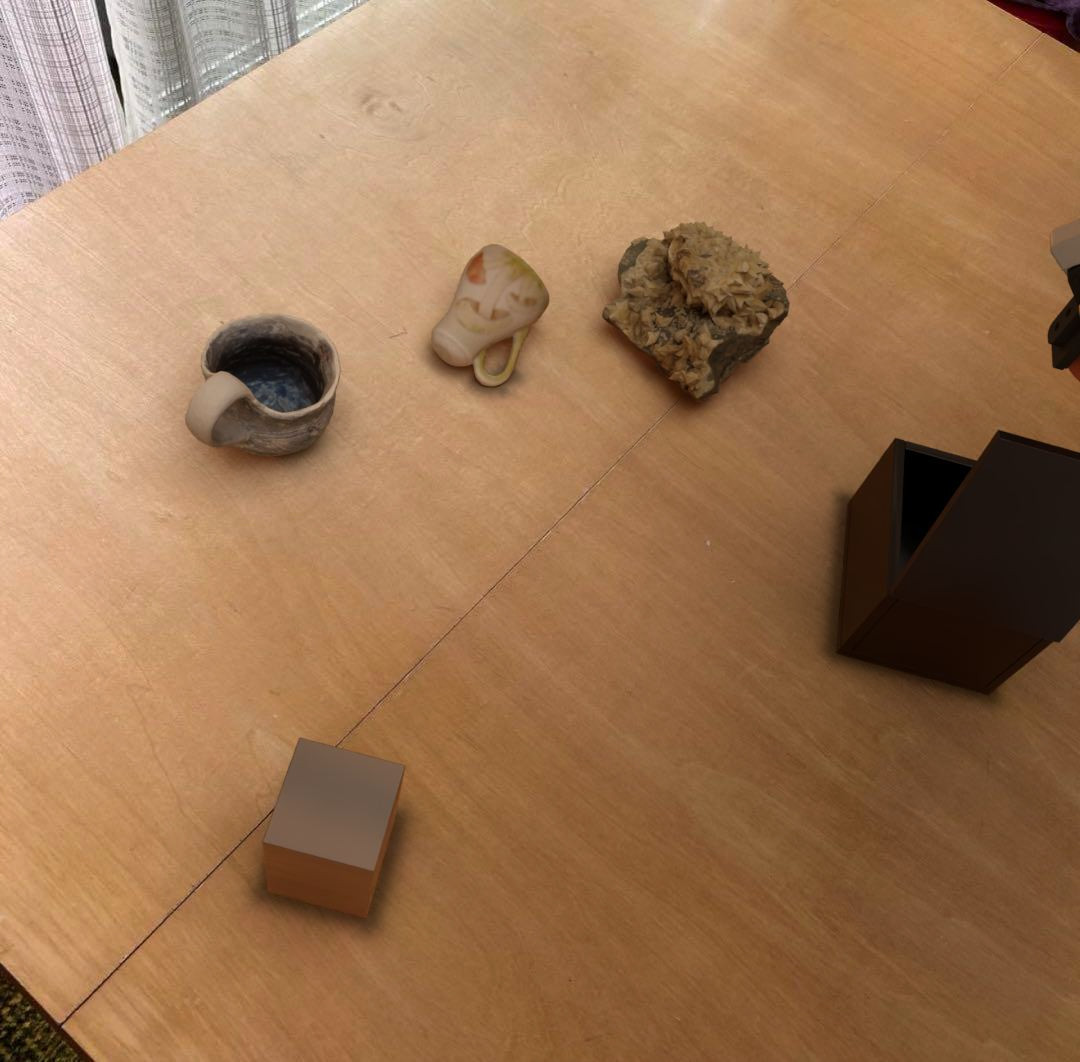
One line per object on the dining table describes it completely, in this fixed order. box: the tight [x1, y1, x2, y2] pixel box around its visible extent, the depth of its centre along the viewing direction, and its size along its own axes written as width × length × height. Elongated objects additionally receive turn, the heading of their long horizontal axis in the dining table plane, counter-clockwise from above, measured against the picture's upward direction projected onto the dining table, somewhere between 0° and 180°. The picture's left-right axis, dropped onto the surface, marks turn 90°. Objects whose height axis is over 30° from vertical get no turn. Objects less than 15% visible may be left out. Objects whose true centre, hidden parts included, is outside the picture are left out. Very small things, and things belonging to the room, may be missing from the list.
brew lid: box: [890, 429, 1080, 644], centre depth 71 cm, size 14×12×1 cm
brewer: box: [836, 437, 1054, 695], centre depth 84 cm, size 14×12×9 cm
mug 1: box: [184, 312, 342, 458], centre depth 81 cm, size 10×12×10 cm
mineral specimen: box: [601, 221, 791, 404], centre depth 93 cm, size 14×13×10 cm
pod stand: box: [262, 737, 406, 919], centre depth 66 cm, size 6×6×10 cm
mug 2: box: [430, 243, 550, 387], centre depth 91 cm, size 8×10×10 cm
